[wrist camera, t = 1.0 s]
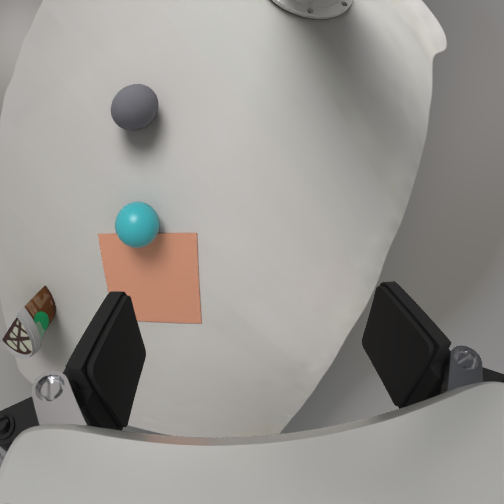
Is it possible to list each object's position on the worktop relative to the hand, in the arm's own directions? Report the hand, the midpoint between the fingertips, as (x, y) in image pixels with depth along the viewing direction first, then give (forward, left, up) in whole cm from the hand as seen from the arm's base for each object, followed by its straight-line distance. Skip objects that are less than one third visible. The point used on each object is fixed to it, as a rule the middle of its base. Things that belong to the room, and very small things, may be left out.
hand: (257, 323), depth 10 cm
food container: (+19, -34, -26) cm, 47 cm away
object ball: (+3, -12, -23) cm, 26 cm away
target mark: (+12, -12, -25) cm, 30 cm away
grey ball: (-11, -12, -23) cm, 28 cm away
